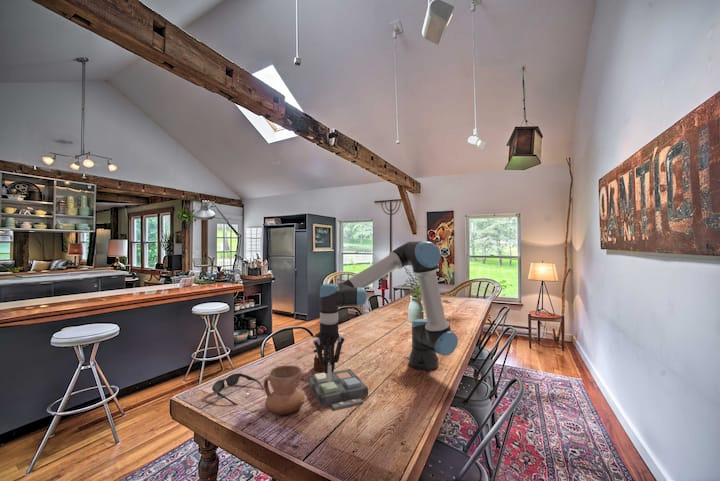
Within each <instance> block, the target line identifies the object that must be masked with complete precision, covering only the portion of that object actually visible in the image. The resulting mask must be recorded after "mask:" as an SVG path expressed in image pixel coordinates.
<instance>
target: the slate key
mask: <svg viewBox="0 0 720 481" xmlns="http://www.w3.org/2000/svg"><path fill="white" fill-rule="evenodd" d="M344 385H345V386H346V388H347V389H352V388H357V387H361V383H360V381H359V380H358V379H357V378H356V377H354V378H349V379H344Z"/></svg>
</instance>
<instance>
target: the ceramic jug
mask: <svg viewBox="0 0 720 481" xmlns="http://www.w3.org/2000/svg"><path fill="white" fill-rule="evenodd" d="M301 376H302V368H301V367H299V366H297V365H281V366H280V365H279V366H276V367H273V368H271V369H270V370H269V371H268V376H265V377H264V380H263V388H264V391H265V393H266V396H267V397H266V399H265V408H266V409H267V411H268V412H269V413H272V414H275V415H281V416H283V415H289V414H293V413H294V412H296V411H298V410H300V408H301V407H302V406H304V403H305V400H306V397H305V394H304V393H303V391H302V390H300V389H298V386H301V387H303V386H305V383H306V382H305V381H304V380H300V379H301ZM269 382H270V386H271V389H272V390H273V391H272V392H271V391H270V388H269Z"/></svg>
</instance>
